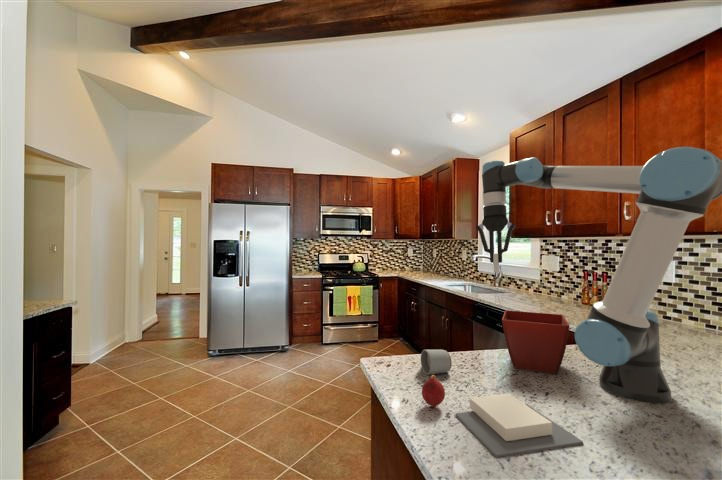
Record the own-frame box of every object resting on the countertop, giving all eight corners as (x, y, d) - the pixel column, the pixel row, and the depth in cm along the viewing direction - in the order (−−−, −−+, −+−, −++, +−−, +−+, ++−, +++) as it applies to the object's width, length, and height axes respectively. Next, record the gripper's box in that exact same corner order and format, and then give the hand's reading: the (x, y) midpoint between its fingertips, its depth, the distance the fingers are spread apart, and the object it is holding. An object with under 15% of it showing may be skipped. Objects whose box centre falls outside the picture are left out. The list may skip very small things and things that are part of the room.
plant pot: (565, 361, 112) (563, 313, 112) (571, 381, 95) (569, 325, 95) (506, 353, 121) (505, 309, 121) (503, 370, 104) (501, 319, 104)
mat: (455, 415, 76) (455, 413, 76) (527, 406, 80) (527, 404, 80) (496, 457, 60) (495, 455, 60) (583, 443, 64) (583, 441, 64)
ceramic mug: (453, 375, 100) (452, 351, 101) (430, 378, 98) (429, 353, 98) (437, 364, 110) (436, 342, 111) (416, 367, 108) (415, 344, 109)
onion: (440, 415, 76) (440, 381, 76) (418, 409, 79) (418, 377, 79) (447, 405, 81) (447, 373, 81) (426, 399, 84) (426, 369, 84)
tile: (508, 393, 80) (551, 422, 66) (508, 404, 80) (552, 435, 66) (469, 397, 78) (506, 428, 64) (469, 409, 78) (506, 442, 64)
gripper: (515, 205, 111) (517, 271, 110) (476, 208, 117) (478, 271, 116) (514, 202, 104) (516, 273, 103) (473, 205, 111) (475, 272, 110)
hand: (496, 272), depth 110 cm, fingers closed
